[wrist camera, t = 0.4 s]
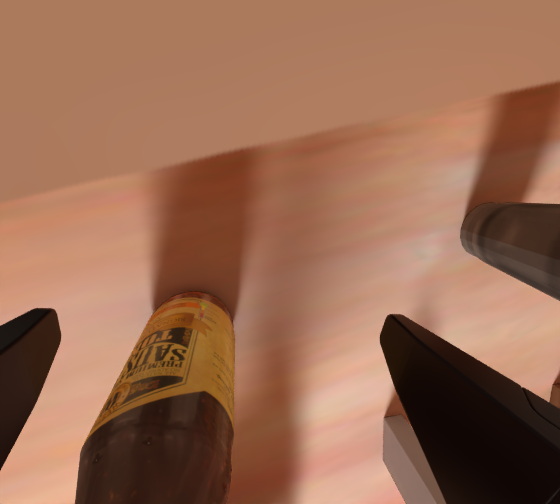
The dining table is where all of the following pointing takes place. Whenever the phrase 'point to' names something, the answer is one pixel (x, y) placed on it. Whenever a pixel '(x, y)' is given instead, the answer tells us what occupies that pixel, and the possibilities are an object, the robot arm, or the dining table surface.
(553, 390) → the domino
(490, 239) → the beverage cup
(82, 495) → the sauce bottle
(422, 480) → the domino
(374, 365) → the dining table surface
